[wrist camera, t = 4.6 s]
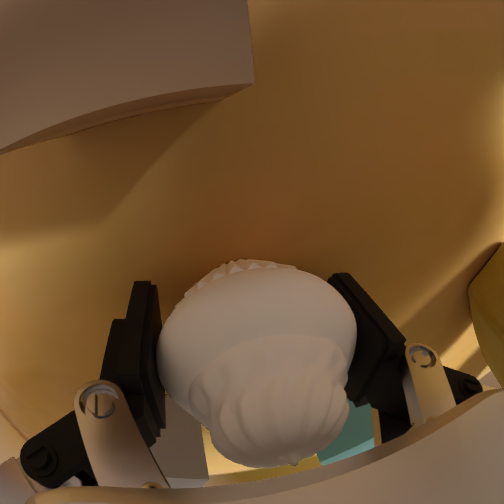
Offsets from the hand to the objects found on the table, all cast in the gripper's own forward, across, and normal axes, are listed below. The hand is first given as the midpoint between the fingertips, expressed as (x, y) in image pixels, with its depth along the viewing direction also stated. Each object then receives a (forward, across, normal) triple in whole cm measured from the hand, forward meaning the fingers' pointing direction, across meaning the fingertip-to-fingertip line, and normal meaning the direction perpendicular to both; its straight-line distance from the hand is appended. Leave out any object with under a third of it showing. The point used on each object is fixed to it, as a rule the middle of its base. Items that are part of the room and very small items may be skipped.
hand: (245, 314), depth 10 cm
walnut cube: (+1, +4, -9) cm, 10 cm away
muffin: (+1, 0, 0) cm, 1 cm away
